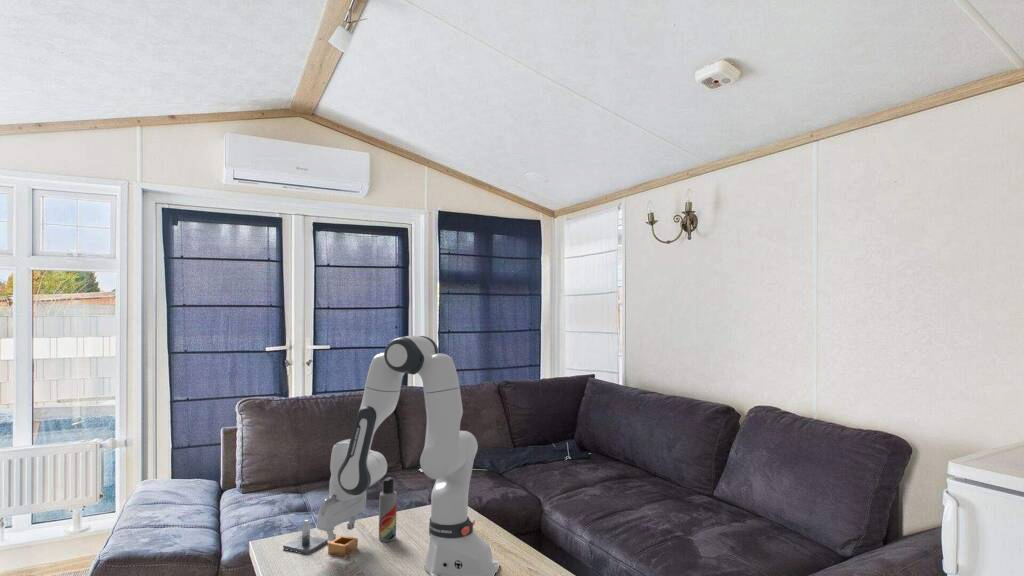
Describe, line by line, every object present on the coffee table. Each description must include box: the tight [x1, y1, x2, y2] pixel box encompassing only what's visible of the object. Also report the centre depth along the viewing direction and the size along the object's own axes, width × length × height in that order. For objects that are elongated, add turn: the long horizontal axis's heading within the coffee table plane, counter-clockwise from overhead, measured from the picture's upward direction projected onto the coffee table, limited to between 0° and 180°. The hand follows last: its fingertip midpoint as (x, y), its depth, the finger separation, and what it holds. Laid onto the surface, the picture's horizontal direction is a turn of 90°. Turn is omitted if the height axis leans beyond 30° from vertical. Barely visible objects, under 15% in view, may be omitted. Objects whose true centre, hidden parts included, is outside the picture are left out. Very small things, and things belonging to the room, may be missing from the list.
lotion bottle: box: [378, 477, 398, 542], centre depth 183 cm, size 6×6×20 cm
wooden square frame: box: [327, 535, 359, 557], centre depth 174 cm, size 6×6×3 cm
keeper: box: [282, 519, 329, 555], centre depth 176 cm, size 10×9×8 cm
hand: (341, 534), depth 174 cm, fingers open, 8 cm apart
